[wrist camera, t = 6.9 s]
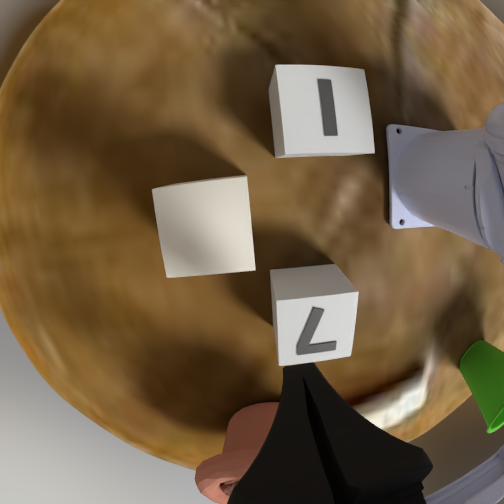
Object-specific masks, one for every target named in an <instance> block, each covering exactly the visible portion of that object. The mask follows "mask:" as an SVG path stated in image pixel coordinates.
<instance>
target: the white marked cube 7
mask: <svg viewBox="0 0 504 504" xmlns="http://www.w3.org/2000/svg"><path fill="white" fill-rule="evenodd" d="M270 279H271V296H272V314H273V329H274V336H275V342H276V349H277V356H278V362H279V366H283V365H292V364H301V363H308V362H316V361H323V360H329V359H336V358H342V357H347V356H351V351H352V344H353V337H354V329H355V321H356V313H357V303H358V290H357V289H356V288H355V287H354V286H353V284H352V283H351V282H350V281H349V280H348V278H347V277H346V276H345V275H344V274H343V272H342V271H341V270H340V269H339V268H338V267H337V265H336V264H329V265H318V266H308V267H297V268H285V269H274V270H270Z"/></svg>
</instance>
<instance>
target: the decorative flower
mask: <svg viewBox="0 0 504 504" xmlns="http://www.w3.org/2000/svg"><path fill="white" fill-rule="evenodd" d="M278 405H279V402H266V403H258V404H253V405H250V406H247V407H245V408H242V409H241V410H239V411H238V412H236V413H235V414H234V415H233V417H232V418H231V420H230V421H229V424H228V428H227V432H226V437H225V442H224V447H223V452H222V454H219V455H216V456H213V457H211V458H209V459H207V460H205V461H203V462H202V463H201V464H200V465H199V466H198V467H197V468H196V474H195V482H196V485H197V487H198V489H199V491H200V492H201V493H202V494H203V495H204V496H206V497H207V498H209V499H210V500H212V501H213V502H216V503H219V504H227V502H228V499H229V497H230V495H231V492H232V490H233V488H234V487H235V485H236V484H237V483H238V482H239V480H240V479H241V478H242V477H243V475H244V474H245V473H246V471H247V470H248V469H249V467H250V466H251V464H252V462H253V461H254V459H255V458H256V456H257V455H258V453H259V451H260V449H261V447H262V446H263V444H264V442H265V440H266V438H267V435H268V433H269V431H270V429H271V426H272V424H273V421H274V418H275V415H276V412H277V409H278Z"/></svg>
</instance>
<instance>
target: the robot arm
mask: <svg viewBox="0 0 504 504" xmlns="http://www.w3.org/2000/svg"><path fill="white" fill-rule="evenodd" d="M396 129H398V130H399V134H398V133H397V131H396ZM386 135H387V146H388V161H389V187H390V220H389V222H390V226H391V227H392V228H394V229H401V228H415V227H429V226H437V227H440V228H442V229H445V230H447V231H449V232H452V233H454V234H457V235H459V236H461V237H464V238H466V239H468V240H470V241H473V242H475V243H477V244H479V245H481V246H484V247H486V248H488V249H490V250H492V251H494V252H496V253H497V254H499V256H500V258H501V262H502V264H504V102H503V103H501V104H500V105H498V106H497V107H495V108H494V109H493V110H492V111H491V112H490V113H489V115H488V117H487V120H486V122H485V124H484V126H483V128H480V129H463V130H451V131H438V130H432V129H426V128H420V127H412V126H405V125H396V124H390V125H388V126H387V128H386ZM401 219H402V223H401V224H399V222H400V220H401ZM432 468H433V465H432V463H431V461H430V459H429V457H428V456H427V454H426V453H425V452H424V450H423V449H422V448H420V447H417V446H414V445H411V444H409V443H407V442H404V441H402V440H400V439H398V438H396V437H394V436H392V435H390V434H389V433H387V432H385V431H383V430H382V429H380V428H378V427H377V426H375V425H374V424H372V423H371V422H370V421H368V420H367V419H365V418H364V417H363V416H362V415H360V414H359V413H358V412H357V411H355V410H354V409H353V408H352V407H351V406H350V405H349V404H348V403H347V402H346V401H345V400H344V399H343V398H342V397H341V396H340V395H339V394H338V393H337V392H336V391H335V390H334V388H333V387H332V386H331V385H330V384H329V383H328V381H327V380H326V379H325V378H324V376H323V375H322V374H321V372H320V371H319V369H318V368H317V366H316V365H315V364H314V363H313V362H312V363H305V364H299V365H292V366H285V367H284V368H283V386H282V392H281V397H280V401H279V405H278V409H277V412H276V415H275V418H274V421H273V424H272V426H271V429H270V431H269V433H268V435H267V438H266V440H265V442H264V444H263V446H262V447H261V449H260V451H259V453H258V455H257V456H256V458H255V459H254V461H253V462H252V464H251V466H250V467H249V469H248V470H247V471H246V473H245V474H244V475H243V477H242V478H241V479H240V480H239V482H238V483H237V484H236V485H235V487H234V488H233V490H232V492H231V495H230V497H229V499H228V502H227V504H496V503H497V502H498V501H500V500H501V499H502V498H503V497H504V445H503V446H502V447H501V448H500V449H499V450H498V452H497V453H496V454H494V455H493V456H492V457H490V458H489V459H488V460H486V461H485V462H484V463H482V464H481V465H480V466H478V467H476V468H475V469H473V470H472V471H470V472H469V473H467V474H466V475H464V476H463V477H461V478H459V479H458V480H456V481H454V482H453V483H451V484H449V485H447V486H446V487H444V488H442V489H440V490H438V491H436V492H435V493H432V494H431V495H428V496H427V497H424V496H423V493H422V491H421V490H423V488H424V487H423V485H422V481H423V479H424V478H425V477H426V476H427V475H428V474H429V473H430V471H431V470H432Z"/></svg>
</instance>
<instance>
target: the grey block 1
mask: <svg viewBox="0 0 504 504" xmlns="http://www.w3.org/2000/svg"><path fill="white" fill-rule="evenodd" d="M268 91H269V100H270V109H271V119H272V129H273V139H274V150H275V158H284V157H305V156H347V155H358V154H371V153H375V149H374V137H373V127H372V118H371V110H370V103H369V96H368V89H367V83H366V77H365V72H364V69H357V68H348V67H337V66H322V65H275V68H274V72H273V75H272V79H271V82H270V86H269V89H268Z"/></svg>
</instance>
